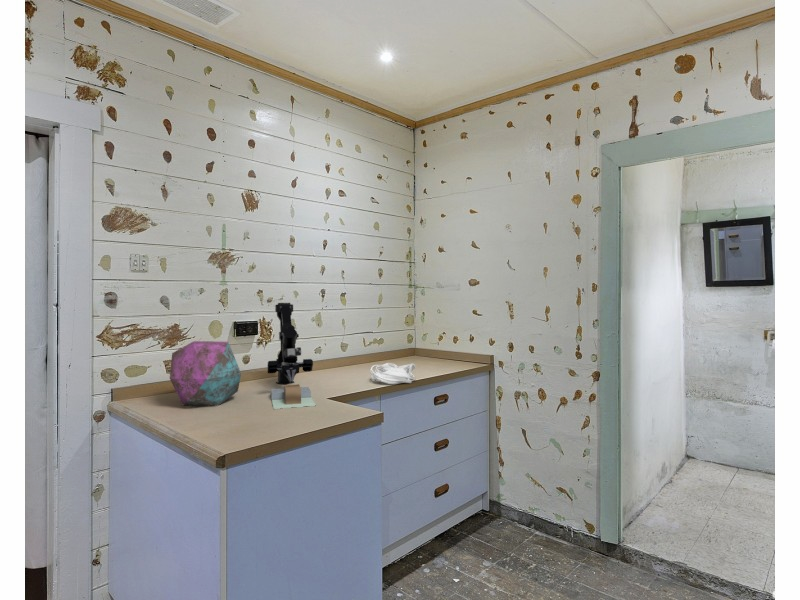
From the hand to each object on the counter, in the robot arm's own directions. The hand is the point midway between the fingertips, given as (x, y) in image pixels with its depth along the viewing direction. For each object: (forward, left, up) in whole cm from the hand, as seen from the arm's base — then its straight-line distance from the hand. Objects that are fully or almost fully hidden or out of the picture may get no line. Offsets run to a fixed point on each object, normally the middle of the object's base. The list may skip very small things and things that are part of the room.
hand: (291, 382), depth 199 cm
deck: (-4, +3, -7) cm, 9 cm away
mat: (+5, -5, -7) cm, 10 cm away
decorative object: (-27, -21, -7) cm, 35 cm away
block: (0, -1, -4) cm, 4 cm away
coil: (+16, +55, -8) cm, 58 cm away
